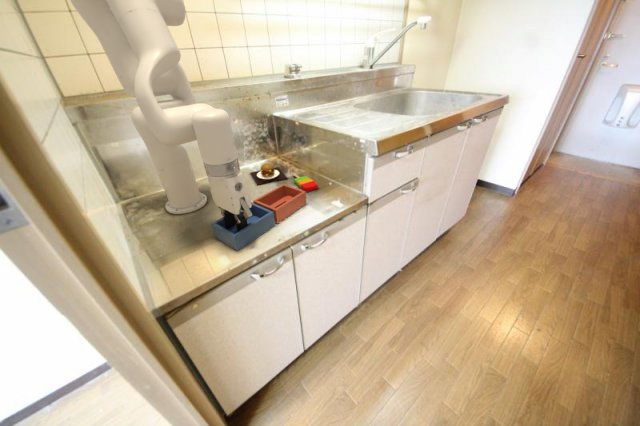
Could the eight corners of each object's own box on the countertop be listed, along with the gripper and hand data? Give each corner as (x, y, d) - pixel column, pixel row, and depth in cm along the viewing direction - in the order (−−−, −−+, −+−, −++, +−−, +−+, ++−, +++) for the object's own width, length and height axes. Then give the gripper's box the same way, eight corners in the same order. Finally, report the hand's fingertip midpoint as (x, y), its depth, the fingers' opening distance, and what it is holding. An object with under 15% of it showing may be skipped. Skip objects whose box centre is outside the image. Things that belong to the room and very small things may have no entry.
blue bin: (215, 237, 70) (210, 223, 67) (253, 214, 79) (250, 201, 76) (237, 251, 65) (234, 236, 62) (275, 225, 74) (273, 211, 71)
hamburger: (278, 168, 109) (276, 155, 106) (287, 179, 100) (286, 165, 97) (250, 173, 105) (248, 161, 102) (257, 185, 95) (255, 172, 92)
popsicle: (305, 192, 90) (305, 188, 89) (287, 177, 101) (287, 173, 100) (319, 188, 92) (318, 184, 91) (300, 174, 103) (299, 170, 102)
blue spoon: (256, 220, 75) (254, 213, 74) (263, 223, 74) (261, 217, 73) (228, 237, 69) (226, 230, 68) (235, 241, 67) (233, 234, 66)
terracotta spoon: (288, 199, 85) (288, 193, 84) (295, 202, 84) (295, 196, 83) (267, 212, 79) (266, 206, 77) (274, 216, 77) (273, 209, 76)
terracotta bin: (255, 213, 79) (252, 200, 77) (285, 195, 88) (283, 183, 86) (277, 223, 75) (275, 210, 72) (306, 204, 84) (305, 191, 81)
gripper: (259, 169, 57) (269, 233, 67) (214, 154, 66) (229, 213, 76) (232, 181, 52) (247, 248, 62) (187, 163, 61) (207, 225, 71)
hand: (237, 228), depth 69 cm, fingers open, 4 cm apart
